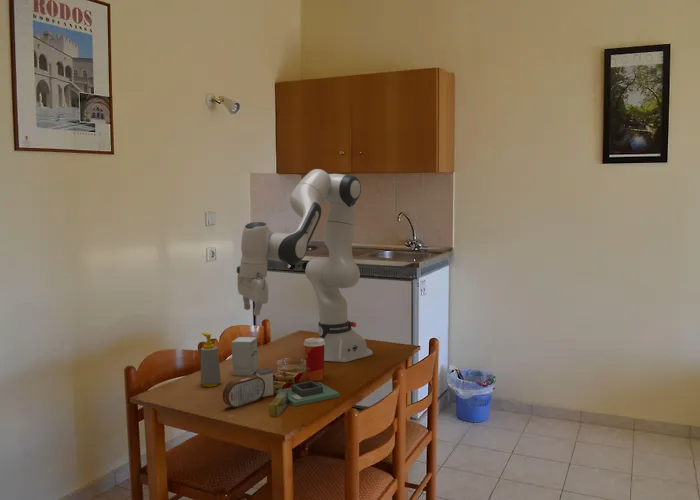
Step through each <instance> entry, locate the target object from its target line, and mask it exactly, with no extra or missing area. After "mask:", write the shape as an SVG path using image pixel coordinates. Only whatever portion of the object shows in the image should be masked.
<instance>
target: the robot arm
mask: <svg viewBox="0 0 700 500" xmlns="http://www.w3.org/2000/svg"><path fill="white" fill-rule="evenodd" d="M361 193H362V185H361V182H360V180H359V178H358V177H356V176H354V175H351V174H342V173H328V172H327V171H325V170H323V169H322V168H321V169H320V168H314V169H312V170H310V171H309V172H308V173H306V174H305V175H304V176H303V178H302V179H301V180H300V181H299V182H298V184H297V185H296V186H295V187H294V189H293V190H292V192H291V195H290V196H289V203H290V206H291V208H292V210H293V211H294V212H295V214H296V215H298V217H299V216H300V217H301V220H300V221H299V223H298V226H297V228H296V230H295V231H293V232H291V233H290V232H289V233H283V232H276V231H275V230H272V229H271V228H269V226H268V223H266V222H263V221H262V222H261V221H257V222H256V221H253V222H250V223H246V224H245V225H244V226H243V231H242V235H241V244H240V245H241V246H240V247H241V249H240V250H241V258H240V264H239V266H237V267H236V274H237V293H238V294H239V295H241V296H242V301H243V309H244V310H246V311H248V310H251V303H250V301H252V302H254V309H253V315H254V316H260V315H261V310H262V307H263V304H264V305H266V304H268V302H269V284H268V281H267V280H266V279H265V278H267V276H268V261H269V260H270V261H276V262H281V263H284V264H289V265H298V264H299V263H301V261H302V260H303V259H304V258H305V256H306V254H307V251H308V246H309V244H310V242H311V239H312V237H313V235H314V232H315V230H316V228H317V226H318V224H319V222H320V219H321V216H322V208H321V205H322V204H323V202H324V203H329V205H330V207H329V210H328V213H327V217H326V223H325V229H324V234H323V235H324V236H323V243H324V245H325V246H326V248H327V249H328V250H327V251H328V257H316V258H313V259H311V260H309V261H308V262H307V264H306V267H305V276H306V279H308V281H309V282H310V284H311V285H312V287H313V289H314V293H315V296H316V298H317V302H318V317H319V321H318V328H317V329H318V336H319V337H318V338H322V339H324V342H325V344H324V362H338V363H347V362H352V361H354V360H359V359H362V358H366V357H370V356H372V355H373V353H374V352H373V350H371V349H370V348H368V346H367V341H366V340H365V338H364V337H363V336H362V335H361V334H359V333H358V332H356V331H354V330H353V328H356V327H357V322H356V321H350V320H348V303H347V302H348V301H347V300H346V298H345V297H344V296H343V295H342V293H341V291H340V289H348V288H353V287H355V286H356V285H357V284H358V283H359V280H360V278H361V277H360V276H361V273H360V272H361V271H360V268H359V266H358V265H357V264H356V262H355V260H354V255H353V250H352V249H353V247H352V245H353V237H354V230H355V224H356V223H355V222H356V215H357V214H356V211H357V209H356V208H357V205H356V203H357V201H358V200H359V198H360V195H361Z"/></svg>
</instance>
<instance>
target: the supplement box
mask: <svg viewBox="0 0 700 500" xmlns="http://www.w3.org/2000/svg"><path fill="white" fill-rule="evenodd" d="M257 339H258V338H257V337H255V336H243V337H242V336H238V337H237V338H235V339H234V340H232V341H231V359H232V360H231V361H232V375H233V376H242V377H246V376H250V375H255V373H256V370H258V369H259V364H258V340H257Z"/></svg>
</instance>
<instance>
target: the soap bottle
mask: <svg viewBox="0 0 700 500" xmlns="http://www.w3.org/2000/svg"><path fill="white" fill-rule="evenodd" d="M201 335H203V336H204V337H205V338H206V341H205V344H204V345H203V346H202V347H201V348H200V383H201V384H202V386H203V387H204V388H212V387H213V388H214V387H217V386H219V384H220V382H221V381H222V380H221V379H222V377H221V370H220V360H219V359H220V358H219V349H218V346H216V345H215V344H214V343H213V341H212V340H211V336H212V335H213V334H211V333H206V332H201Z"/></svg>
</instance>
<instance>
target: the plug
mask: <svg viewBox="0 0 700 500" xmlns="http://www.w3.org/2000/svg"><path fill="white" fill-rule="evenodd" d="M255 373H256V374H255V375H257V376H258V377H260V378H262V379H263V380H264V382H265V391H264V394H263V396H262V397H268V396H273V395H275V394H274V375H273V374H274V370H272V369H271V368H269V367H265V368H264V367H263V368H260V369H259V368H258V370H256V372H255ZM262 397H261V398H262Z"/></svg>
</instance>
